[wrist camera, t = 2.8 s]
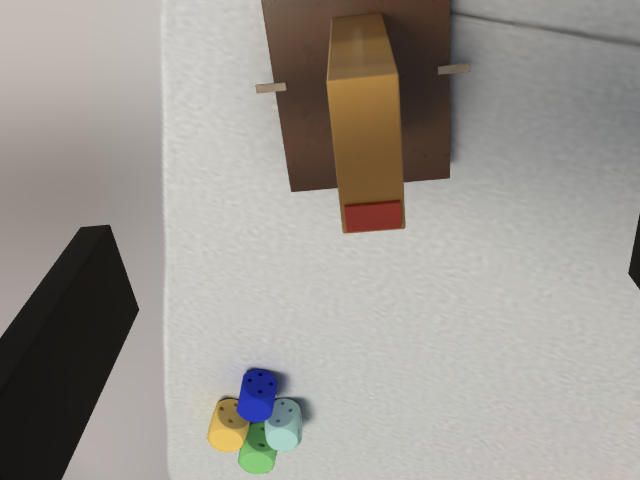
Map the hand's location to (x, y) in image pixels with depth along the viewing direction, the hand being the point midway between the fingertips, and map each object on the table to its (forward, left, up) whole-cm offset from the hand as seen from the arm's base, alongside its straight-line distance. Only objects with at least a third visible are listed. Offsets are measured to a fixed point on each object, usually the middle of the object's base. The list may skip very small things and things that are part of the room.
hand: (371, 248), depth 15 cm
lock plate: (0, 0, -16) cm, 16 cm away
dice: (+23, -6, -15) cm, 28 cm away
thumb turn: (0, 0, -14) cm, 14 cm away
